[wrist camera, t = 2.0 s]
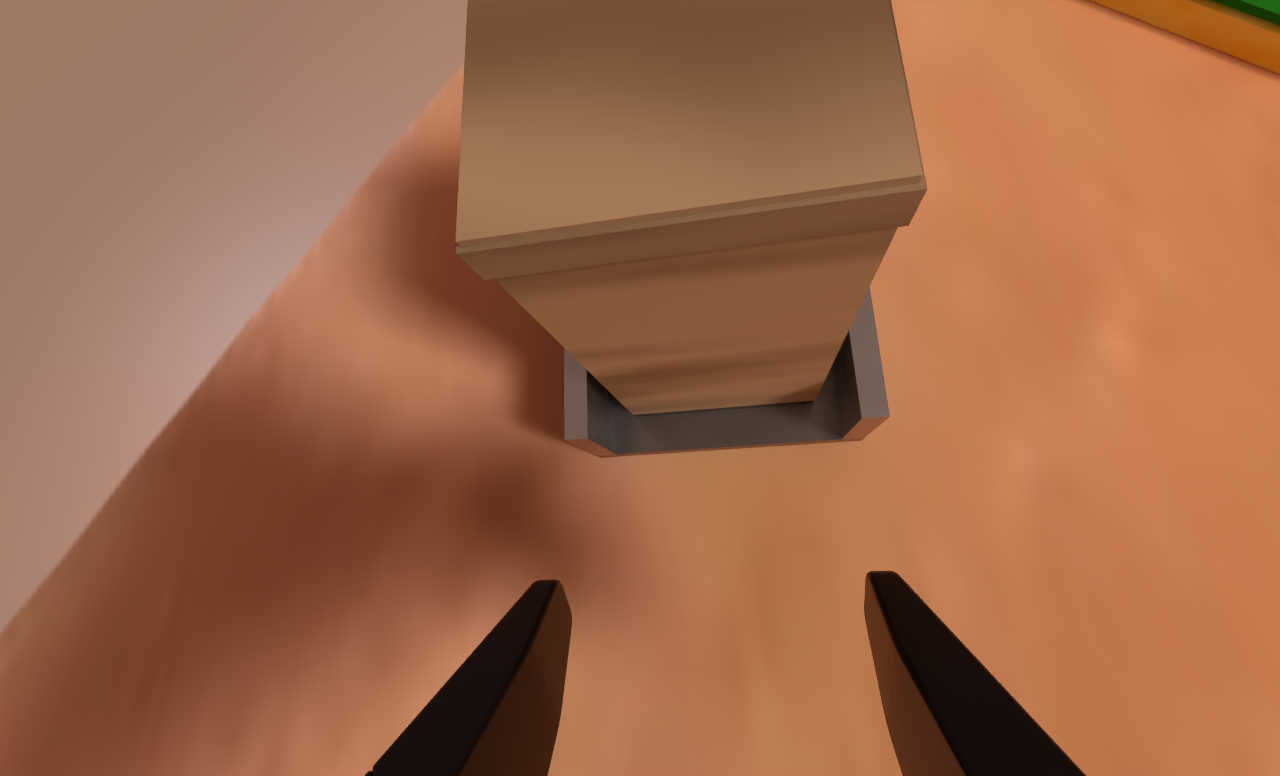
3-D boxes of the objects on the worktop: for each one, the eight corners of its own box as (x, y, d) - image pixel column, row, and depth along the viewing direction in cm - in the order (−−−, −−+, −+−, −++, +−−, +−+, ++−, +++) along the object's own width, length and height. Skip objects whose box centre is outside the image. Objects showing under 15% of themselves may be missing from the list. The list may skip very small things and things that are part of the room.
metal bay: (861, 440, 21) (889, 416, 17) (600, 457, 23) (564, 440, 19) (801, 19, 26) (811, -84, 22) (592, 60, 28) (562, -27, 24)
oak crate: (818, 402, 21) (931, 180, 8) (630, 417, 22) (448, 248, 9) (797, 231, 23) (858, -188, 10) (625, 254, 24) (467, -88, 11)
